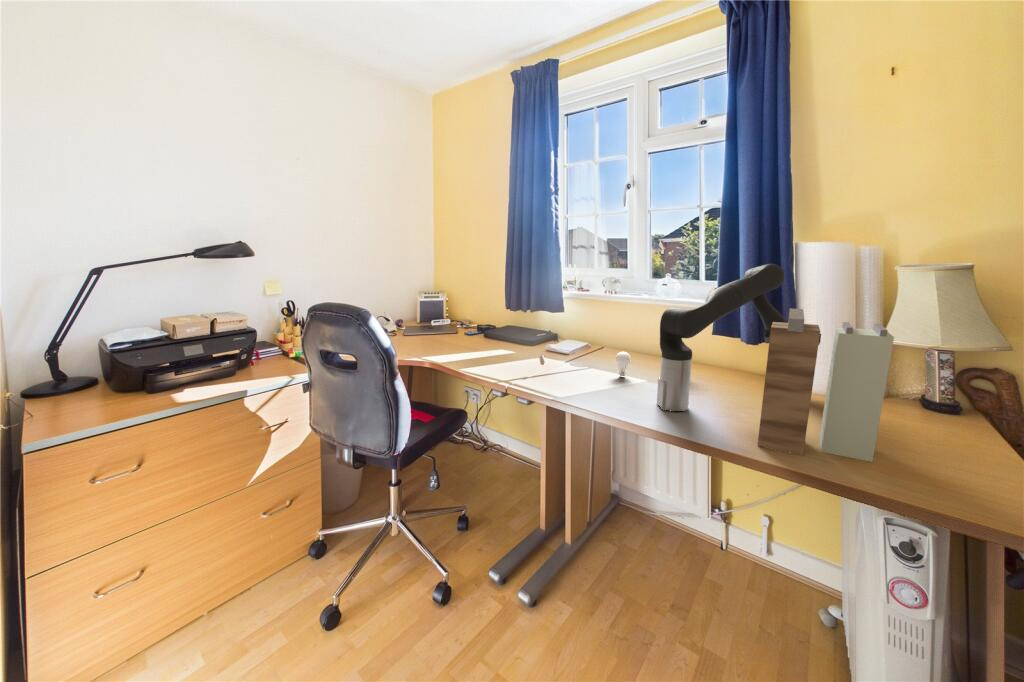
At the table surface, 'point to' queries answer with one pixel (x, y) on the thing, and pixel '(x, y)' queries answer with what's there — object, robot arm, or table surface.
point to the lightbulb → (622, 362)
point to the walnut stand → (788, 387)
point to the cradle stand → (855, 391)
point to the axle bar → (796, 320)
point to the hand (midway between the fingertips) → (792, 329)
